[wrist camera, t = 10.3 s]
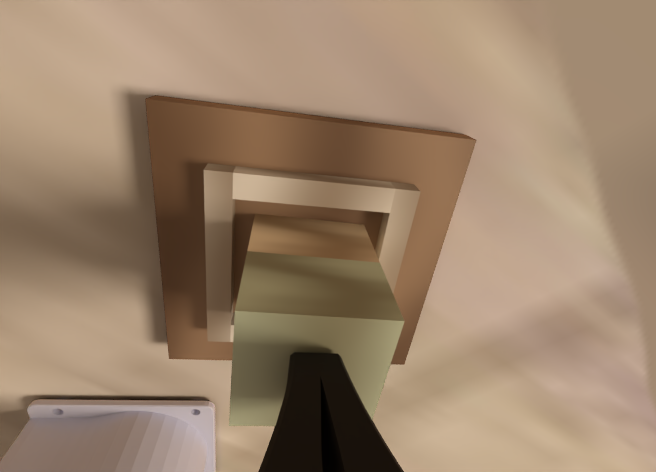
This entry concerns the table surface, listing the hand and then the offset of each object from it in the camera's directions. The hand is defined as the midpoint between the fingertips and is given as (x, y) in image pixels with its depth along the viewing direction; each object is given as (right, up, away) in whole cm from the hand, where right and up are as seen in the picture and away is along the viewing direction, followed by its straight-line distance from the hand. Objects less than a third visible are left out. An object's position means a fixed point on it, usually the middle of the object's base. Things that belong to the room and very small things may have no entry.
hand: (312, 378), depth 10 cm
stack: (-1, +3, +5) cm, 6 cm away
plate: (-1, +3, +6) cm, 7 cm away
